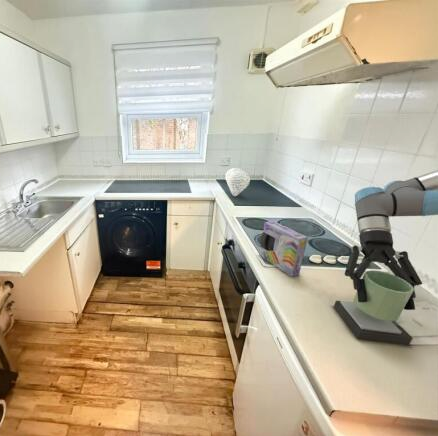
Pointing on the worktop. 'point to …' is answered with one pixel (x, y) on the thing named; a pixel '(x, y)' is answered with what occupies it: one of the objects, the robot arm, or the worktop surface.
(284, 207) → the worktop surface
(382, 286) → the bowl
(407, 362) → the worktop surface
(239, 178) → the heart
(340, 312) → the scale
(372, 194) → the robot arm
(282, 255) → the cake pan box
